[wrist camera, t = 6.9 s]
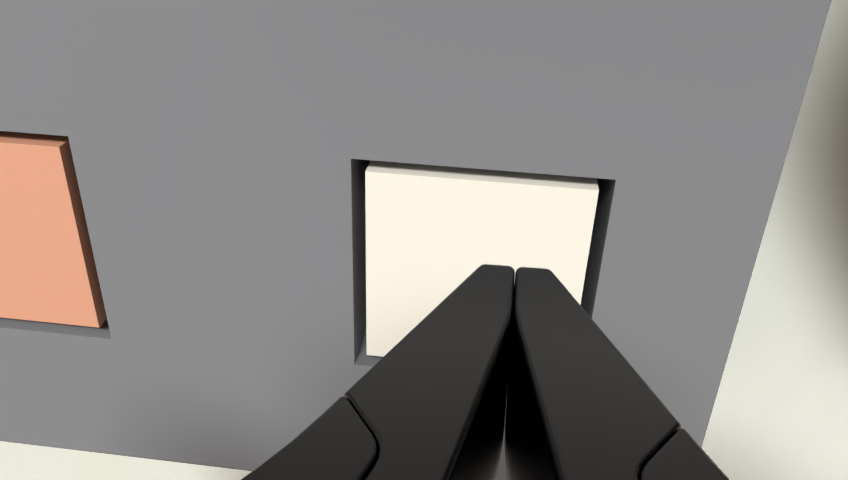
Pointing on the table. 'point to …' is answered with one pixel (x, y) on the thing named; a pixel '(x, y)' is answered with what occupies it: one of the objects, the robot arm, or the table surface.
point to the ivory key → (464, 235)
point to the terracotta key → (44, 235)
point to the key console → (345, 189)
